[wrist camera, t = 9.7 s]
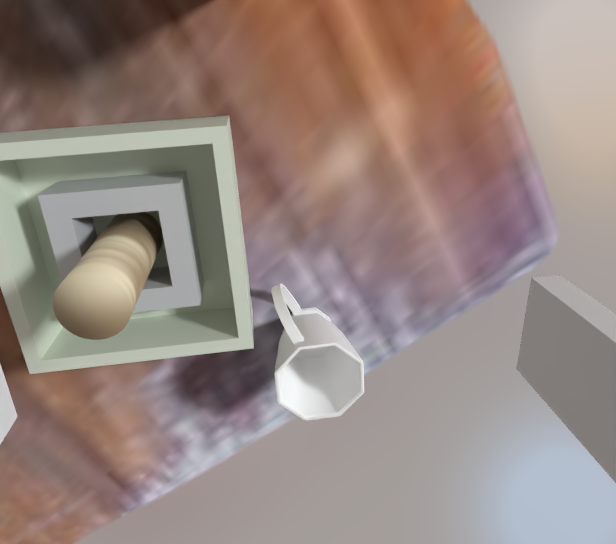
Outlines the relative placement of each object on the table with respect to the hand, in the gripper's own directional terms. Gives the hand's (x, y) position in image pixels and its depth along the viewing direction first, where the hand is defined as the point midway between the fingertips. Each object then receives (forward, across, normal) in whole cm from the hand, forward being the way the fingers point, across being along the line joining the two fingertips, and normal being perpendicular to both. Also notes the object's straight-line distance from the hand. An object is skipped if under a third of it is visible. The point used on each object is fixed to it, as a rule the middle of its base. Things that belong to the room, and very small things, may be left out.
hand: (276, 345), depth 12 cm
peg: (+26, -9, -6) cm, 29 cm away
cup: (+28, +3, -14) cm, 31 cm away
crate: (+28, -9, -6) cm, 30 cm away
